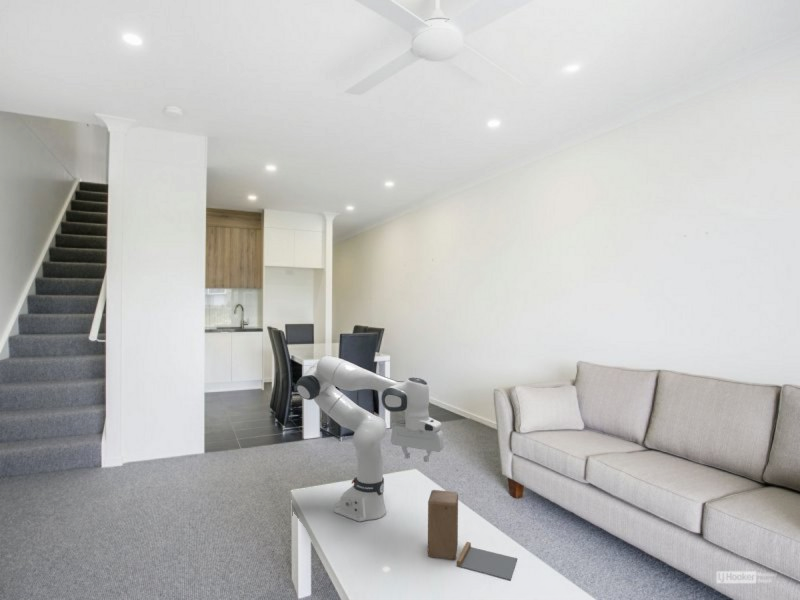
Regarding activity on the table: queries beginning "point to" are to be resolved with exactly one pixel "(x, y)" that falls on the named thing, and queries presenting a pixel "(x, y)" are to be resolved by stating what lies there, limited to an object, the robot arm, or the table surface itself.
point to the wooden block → (443, 524)
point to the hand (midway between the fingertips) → (416, 459)
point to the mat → (486, 562)
